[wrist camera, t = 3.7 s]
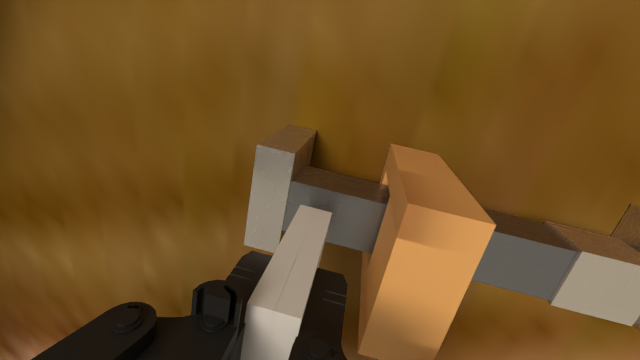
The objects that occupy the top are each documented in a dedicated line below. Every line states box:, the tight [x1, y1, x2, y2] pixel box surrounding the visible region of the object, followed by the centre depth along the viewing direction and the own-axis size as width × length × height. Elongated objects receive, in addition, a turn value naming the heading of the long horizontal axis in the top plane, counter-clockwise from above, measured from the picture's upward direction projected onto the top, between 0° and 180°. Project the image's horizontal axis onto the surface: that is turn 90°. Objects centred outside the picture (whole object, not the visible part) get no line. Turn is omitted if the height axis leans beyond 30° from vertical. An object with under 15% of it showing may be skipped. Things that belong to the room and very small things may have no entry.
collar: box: [358, 144, 496, 360], centre depth 16 cm, size 3×7×10 cm, turn 168°
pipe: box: [244, 124, 640, 332], centre depth 19 cm, size 25×6×7 cm, turn 78°
